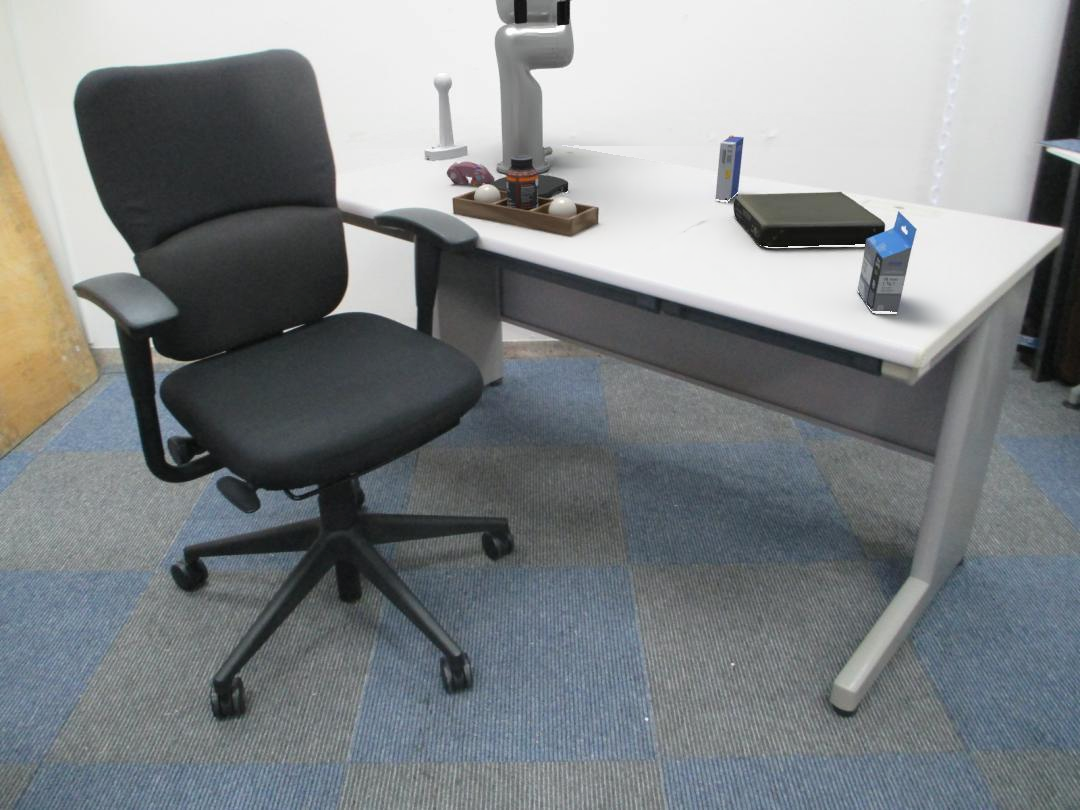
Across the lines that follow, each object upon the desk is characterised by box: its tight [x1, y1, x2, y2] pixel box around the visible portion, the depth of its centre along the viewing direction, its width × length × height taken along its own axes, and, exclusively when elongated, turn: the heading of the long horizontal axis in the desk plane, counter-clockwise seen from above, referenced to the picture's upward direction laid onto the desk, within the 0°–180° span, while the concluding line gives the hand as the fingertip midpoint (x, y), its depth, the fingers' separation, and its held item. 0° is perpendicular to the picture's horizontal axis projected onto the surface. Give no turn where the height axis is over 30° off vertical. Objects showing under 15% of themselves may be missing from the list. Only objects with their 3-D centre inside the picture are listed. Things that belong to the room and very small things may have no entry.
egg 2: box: [548, 196, 577, 218], centre depth 150 cm, size 5×5×5 cm
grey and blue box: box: [857, 210, 918, 313], centre depth 116 cm, size 9×4×12 cm, turn 175°
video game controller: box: [446, 161, 496, 187], centre depth 179 cm, size 10×5×7 cm, turn 69°
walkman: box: [715, 135, 744, 201], centre depth 167 cm, size 8×3×12 cm, turn 153°
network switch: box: [732, 191, 886, 247], centre depth 148 cm, size 23×23×5 cm
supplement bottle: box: [505, 155, 539, 211], centre depth 154 cm, size 6×6×11 cm
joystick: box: [423, 72, 468, 162], centre depth 204 cm, size 11×8×20 cm
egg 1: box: [474, 184, 501, 204], centre depth 159 cm, size 5×5×5 cm
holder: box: [452, 189, 600, 238], centre depth 156 cm, size 10×27×4 cm, turn 55°
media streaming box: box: [490, 174, 569, 199], centre depth 175 cm, size 15×15×3 cm
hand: (541, 24), depth 154 cm, fingers open, 9 cm apart
